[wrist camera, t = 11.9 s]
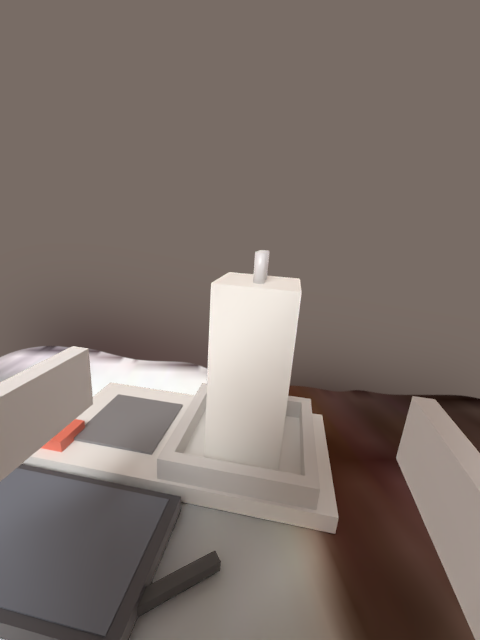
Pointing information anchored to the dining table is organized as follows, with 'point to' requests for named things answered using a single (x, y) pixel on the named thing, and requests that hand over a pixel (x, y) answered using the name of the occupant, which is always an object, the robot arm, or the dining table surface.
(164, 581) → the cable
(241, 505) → the white base tray
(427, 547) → the dining table surface
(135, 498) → the phone
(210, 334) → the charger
